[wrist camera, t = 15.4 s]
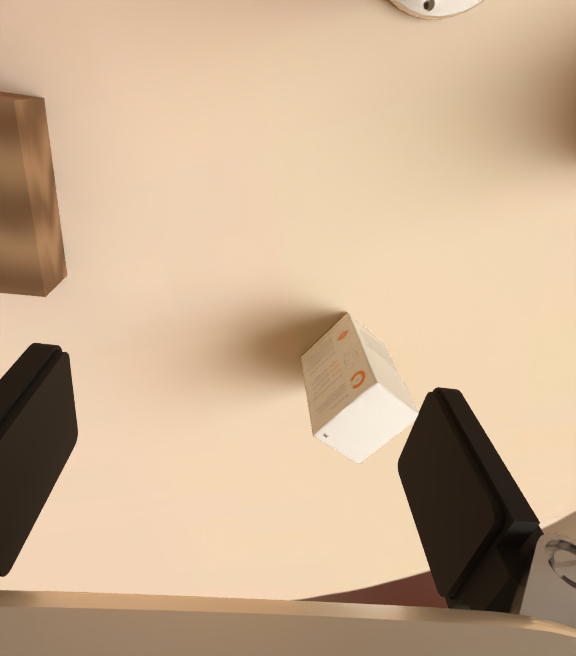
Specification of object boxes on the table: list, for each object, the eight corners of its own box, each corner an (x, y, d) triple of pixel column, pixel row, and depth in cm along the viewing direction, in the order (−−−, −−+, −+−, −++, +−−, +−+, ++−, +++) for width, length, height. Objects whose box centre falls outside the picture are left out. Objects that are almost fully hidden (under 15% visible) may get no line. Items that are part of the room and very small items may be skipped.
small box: (337, 384, 52) (358, 467, 41) (299, 356, 50) (310, 437, 38) (386, 341, 49) (423, 417, 38) (348, 309, 47) (376, 381, 36)
